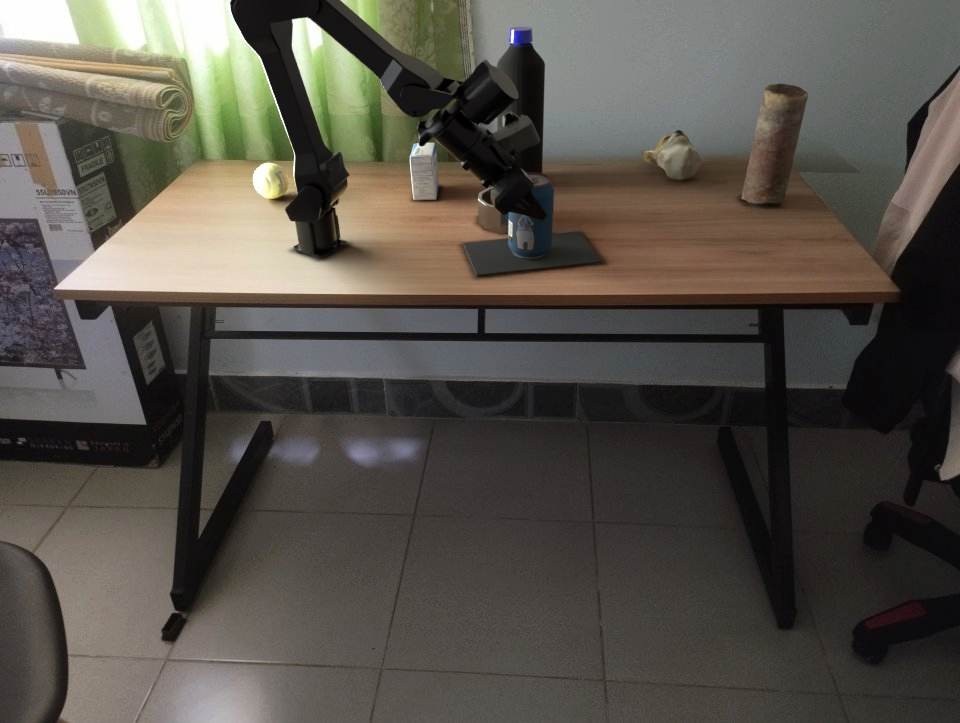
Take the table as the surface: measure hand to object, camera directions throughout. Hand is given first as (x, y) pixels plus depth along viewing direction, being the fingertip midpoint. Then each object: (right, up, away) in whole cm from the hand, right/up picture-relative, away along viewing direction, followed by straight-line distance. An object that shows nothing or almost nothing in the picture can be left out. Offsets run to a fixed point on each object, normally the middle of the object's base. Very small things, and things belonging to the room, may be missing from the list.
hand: (539, 208), depth 115 cm
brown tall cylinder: (+42, +5, +20) cm, 47 cm away
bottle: (-1, +12, +32) cm, 34 cm away
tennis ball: (-49, +8, +27) cm, 57 cm away
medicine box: (-20, +8, +28) cm, 35 cm away
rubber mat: (-1, -6, +4) cm, 8 cm away
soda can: (-1, -6, +4) cm, 7 cm away
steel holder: (-4, +1, +16) cm, 16 cm away
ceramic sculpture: (+30, +14, +35) cm, 48 cm away
